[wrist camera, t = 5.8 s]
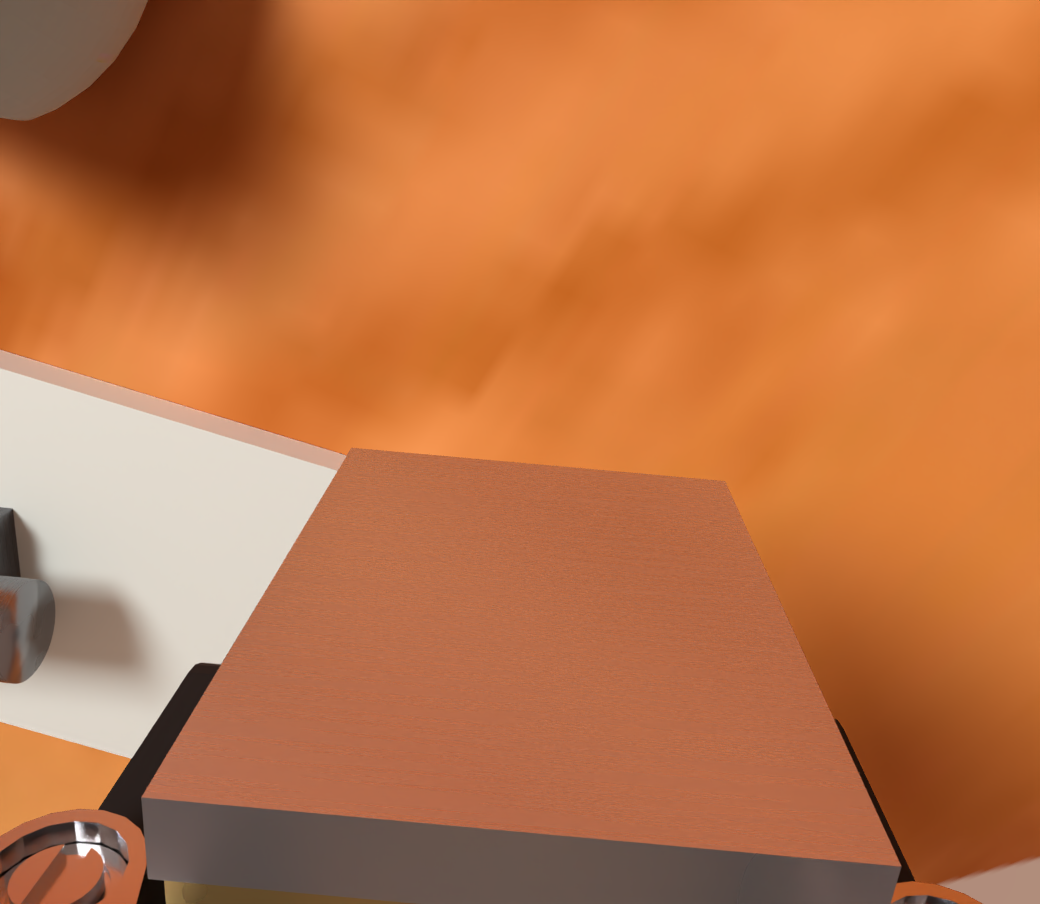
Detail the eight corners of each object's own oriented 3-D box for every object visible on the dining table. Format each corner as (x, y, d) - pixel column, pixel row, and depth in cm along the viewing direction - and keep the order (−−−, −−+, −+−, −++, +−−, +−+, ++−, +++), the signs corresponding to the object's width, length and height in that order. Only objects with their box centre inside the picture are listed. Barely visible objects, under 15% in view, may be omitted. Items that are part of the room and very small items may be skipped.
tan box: (350, 447, 10) (140, 797, 5) (724, 480, 10) (902, 866, 5) (344, 830, 12) (187, 1372, 7) (658, 859, 12) (737, 1422, 7)
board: (609, 535, 27) (610, 554, 26) (494, 833, 32) (491, 860, 30) (-87, 323, 26) (-116, 332, 25) (-110, 661, 30) (-136, 683, 29)
